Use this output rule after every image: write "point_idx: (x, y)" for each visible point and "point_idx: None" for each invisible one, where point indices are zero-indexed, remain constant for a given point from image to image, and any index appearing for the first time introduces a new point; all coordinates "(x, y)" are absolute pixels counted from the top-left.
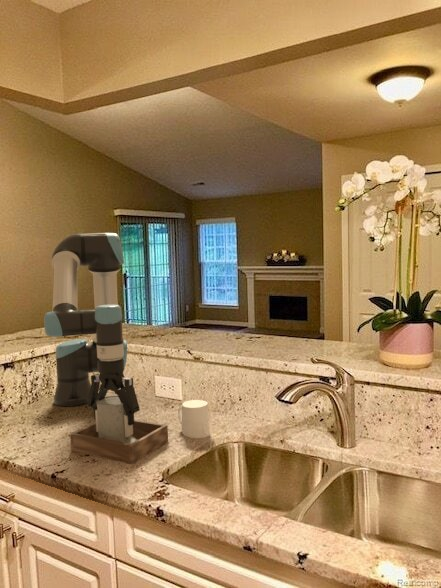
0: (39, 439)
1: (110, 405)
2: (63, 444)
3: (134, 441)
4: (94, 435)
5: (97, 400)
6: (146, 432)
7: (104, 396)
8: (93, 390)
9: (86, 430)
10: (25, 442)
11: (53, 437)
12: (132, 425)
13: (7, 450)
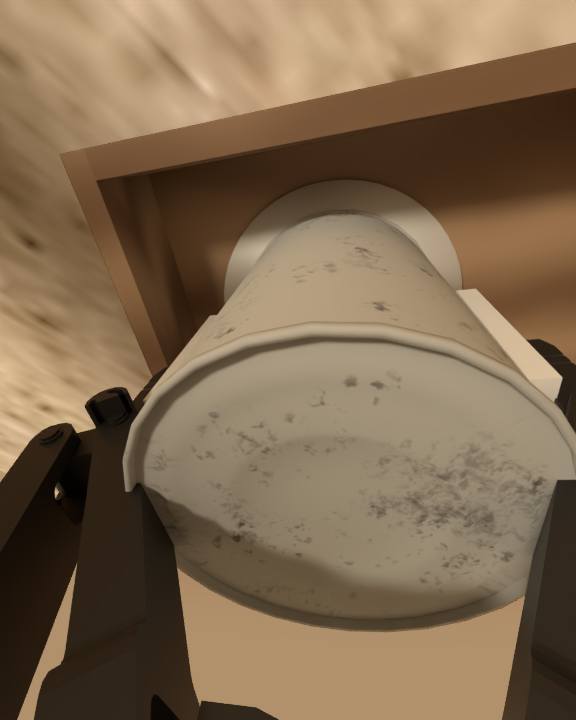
0: (16, 404)
1: (441, 624)
2: (133, 397)
3: (456, 257)
4: (189, 323)
5: (180, 568)
6: (485, 108)
7: (146, 520)
8: (31, 675)
9: None
10: (18, 438)
11: (26, 369)
12: (499, 316)
13: (57, 491)
